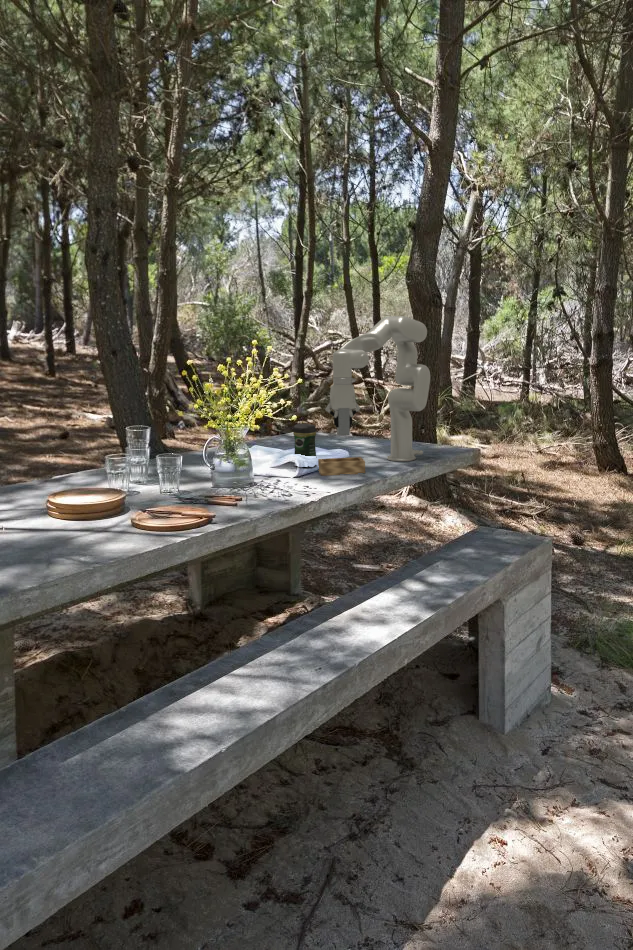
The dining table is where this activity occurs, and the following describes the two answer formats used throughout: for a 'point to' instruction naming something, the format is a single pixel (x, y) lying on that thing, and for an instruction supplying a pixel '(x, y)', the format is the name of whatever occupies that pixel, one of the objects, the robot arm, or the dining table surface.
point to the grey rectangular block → (343, 422)
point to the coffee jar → (305, 439)
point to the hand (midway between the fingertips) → (343, 426)
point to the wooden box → (341, 466)
